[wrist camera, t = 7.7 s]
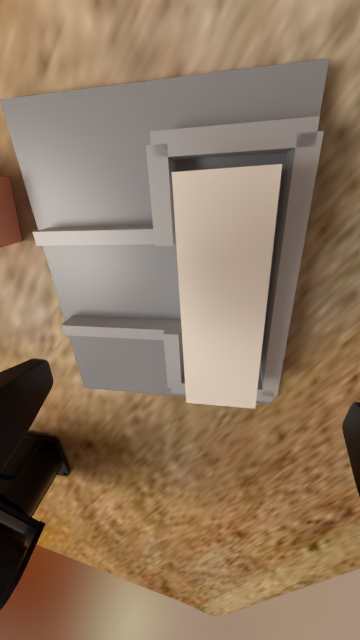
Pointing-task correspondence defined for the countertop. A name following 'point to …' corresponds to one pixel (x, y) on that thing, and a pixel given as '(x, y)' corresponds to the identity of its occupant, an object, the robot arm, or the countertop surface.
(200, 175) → the block
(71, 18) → the countertop surface
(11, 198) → the salmon pink block
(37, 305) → the countertop surface
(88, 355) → the jig
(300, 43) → the countertop surface
